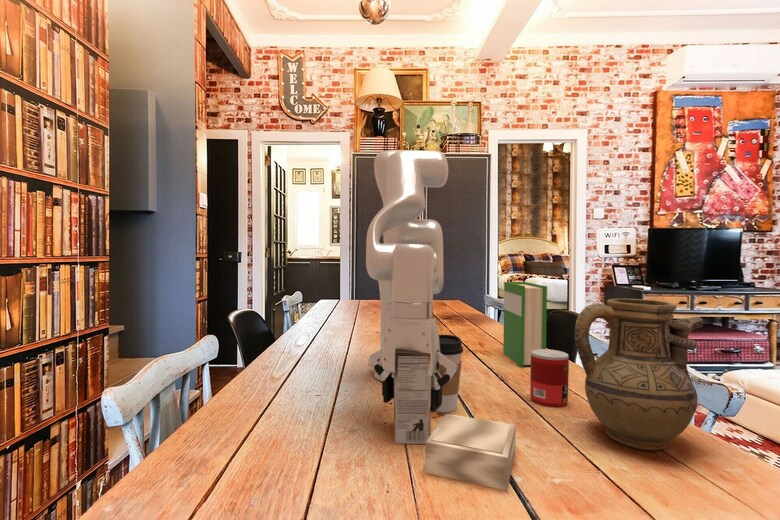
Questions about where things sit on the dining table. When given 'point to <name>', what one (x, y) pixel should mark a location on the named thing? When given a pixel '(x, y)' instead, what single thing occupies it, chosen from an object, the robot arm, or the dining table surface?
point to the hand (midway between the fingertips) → (411, 404)
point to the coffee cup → (452, 351)
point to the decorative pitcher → (639, 371)
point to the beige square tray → (472, 451)
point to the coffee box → (412, 397)
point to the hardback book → (524, 320)
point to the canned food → (549, 377)
